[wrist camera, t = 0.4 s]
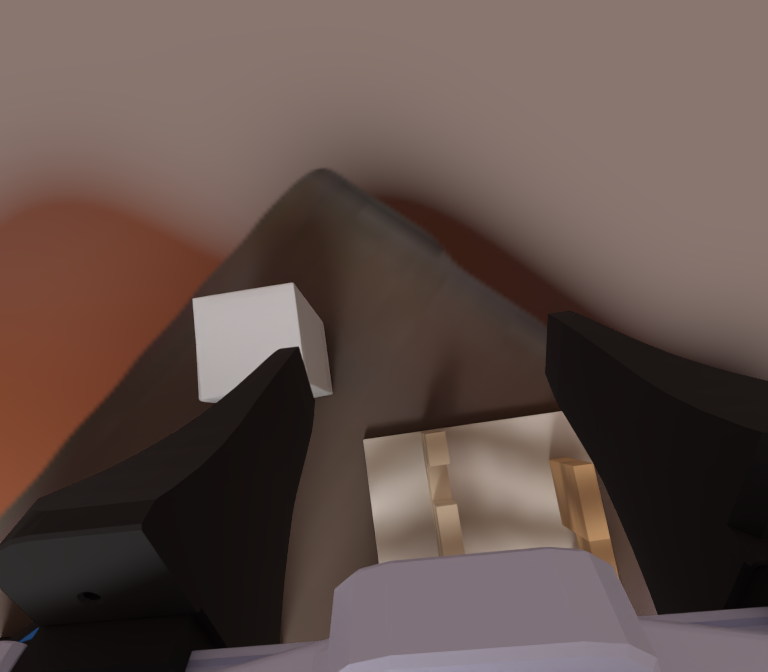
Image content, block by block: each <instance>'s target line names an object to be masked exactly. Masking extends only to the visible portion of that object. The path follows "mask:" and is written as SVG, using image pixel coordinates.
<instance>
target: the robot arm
mask: <svg viewBox="0 0 768 672" xmlns="http://www.w3.org/2000/svg"><path fill="white" fill-rule="evenodd" d="M545 374H546V377H547V379H548V382H549V384H550V387H551V389H552V392H553V394H554V396H555V399H556V401H557V403H558V405H559V407H560V408H561V410H562V412H563V414H564V415H565V417H566V419H567V420H568V422H569V424H570V425H571V427H572V429H573V430H574V432H575V434H576V435H577V437H578V439H579V440H580V442H581V444H582V445H583V447H584V449H585V450H586V452H587V454H588V455H589V457H590V459H591V460H592V462H593V464H594V466H595V467H596V469H597V471H598V473H599V475H600V477H601V479H602V481H603V483H604V485H605V487H606V489H607V492H608V494H609V496H610V498H611V500H612V503H613V505H614V507H615V509H616V511H617V514H618V516H619V518H620V521H621V523H622V525H623V528H624V530H625V532H626V535H627V537H628V539H629V542H630V544H631V546H632V549H633V551H634V554H635V556H636V559H637V561H638V564H639V566H640V569H641V572H642V574H643V577H644V579H645V582H646V584H647V587H648V589H649V592H650V594H651V597H652V600H653V602H654V605H655V608H656V611H657V613H658V615H651V616H638V617H637V615H636V613H635V611H634V609H633V607H632V605H631V603H630V601H629V599H628V597H627V595H626V592H625V590H624V588H623V586H622V584H621V582H620V580H619V578H618V576H617V574H616V572H615V570H614V568H613V566H612V565H611V564H609V563H607V562H605V561H603V560H602V559H600V558H598V557H596V556H594V555H593V554H591V553H589V552H587V551H584V550H581V549H572V548H558V547H539V548H527V549H516V550H505V551H494V552H483V553H472V554H461V555H450V556H439V557H428V558H417V559H406V560H394V561H387V562H384V563H380V564H376V565H372V566H368V567H365V568H361V569H359V570H357V571H356V572H355V573H353V574H352V575H351V576H350V577H349V578H347V579H346V580H345V581H344V582H343V583H341V584H340V585H339V586H338V587H337V588H336V589H334V599H333V609H332V618H331V628H330V638H328V639H325V640H321V641H313V642H300V643H287V644H279V638H280V623H281V612H282V600H283V589H284V578H285V570H286V561H287V552H288V543H289V536H290V528H291V521H292V514H293V508H294V503H295V498H296V493H297V489H298V485H299V481H300V477H301V473H302V469H303V465H304V461H305V457H306V454H307V449H308V445H309V441H310V437H311V433H312V426H313V418H314V406H315V400H314V396H313V393H312V389H311V386H310V383H309V379H308V376H307V372H306V369H305V365H304V362H303V359H302V355H301V352H300V348H299V346H297V347H289V348H281V349H278V350H277V351H275V352H274V353H273V354H272V355H270V356H269V357H268V358H267V359H266V360H265V361H264V362H263V363H262V364H260V365H259V366H258V367H257V368H256V369H255V370H254V371H253V372H252V373H251V374H249V375H248V376H247V377H246V378H245V379H244V380H243V381H242V382H241V383H240V384H238V385H237V386H236V387H235V388H234V389H232V390H231V391H230V392H229V393H228V394H226V395H225V396H224V397H223V398H222V399H220V400H219V401H218V402H217V403H216V404H214V405H213V406H212V407H211V408H209V409H208V410H207V411H205V412H204V413H203V414H201V415H200V416H198V417H197V418H196V419H194V420H193V421H191V422H190V423H188V424H187V425H185V426H184V427H182V428H181V429H179V430H178V431H176V432H175V433H173V434H171V435H170V436H168V437H166V438H164V439H163V440H161V441H159V442H158V443H156V444H154V445H153V446H151V447H149V448H148V449H146V450H144V451H142V452H140V453H139V454H137V455H135V456H133V457H131V458H129V459H127V460H125V461H123V462H121V463H119V464H117V465H115V466H113V467H111V468H109V469H107V470H105V471H103V472H101V473H98V474H96V475H94V476H92V477H90V478H87V479H85V480H82V481H80V482H78V483H75V484H73V485H71V486H68V487H66V488H63V489H61V490H59V491H56V492H54V493H52V494H49V495H46V496H44V497H41V498H39V499H38V500H37V501H36V502H35V503H34V504H33V505H32V507H31V508H30V509H29V510H28V511H27V513H26V514H25V515H24V516H23V517H22V519H21V520H20V521H19V522H18V523H17V525H16V526H15V527H14V528H13V529H12V530H11V532H10V533H9V534H8V535H7V536H6V538H5V539H4V540H3V541H2V542H1V543H0V588H1V590H2V591H3V592H4V593H5V594H6V595H7V596H8V597H9V598H10V599H11V600H12V601H13V602H15V603H16V604H17V605H18V606H19V607H20V608H21V609H22V610H23V611H24V612H25V613H26V614H27V615H28V616H29V617H30V618H31V619H32V620H33V621H34V622H35V623H37V624H38V625H39V626H40V627H39V629H38V630H37V632H36V633H35V635H34V636H33V638H32V640H31V641H30V643H29V644H28V645H26V644H23V643H20V642H16V641H0V672H768V381H766V380H761V379H757V378H753V377H749V376H745V375H741V374H736V373H732V372H728V371H725V370H721V369H717V368H714V367H710V366H707V365H704V364H701V363H697V362H695V361H691V360H688V359H685V358H682V357H679V356H676V355H674V354H671V353H668V352H665V351H663V350H660V349H658V348H655V347H653V346H650V345H648V344H645V343H643V342H640V341H638V340H636V339H633V338H631V337H629V336H627V335H624V334H622V333H620V332H618V331H615V330H613V329H611V328H609V327H607V326H605V325H603V324H600V323H598V322H596V321H594V320H592V319H590V318H587V317H585V316H583V315H580V314H578V313H575V312H572V311H565V312H557V313H549V314H548V324H547V346H546V367H545Z"/></svg>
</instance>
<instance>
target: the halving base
mask: <svg viewBox="0 0 768 672" xmlns="http://www.w3.org/2000/svg"><path fill="white" fill-rule="evenodd" d="M363 442H364V450H365V458H366V466H367V474H368V481H369V489H370V497H371V505H372V513H373V521H374V529H375V537H376V545H377V552H378V560H379V564H380V563H384V562H387V561H394V560H406V559H417V558H428V557H439V556H450V555H461V554H472V553H483V552H494V551H505V550H516V549H527V548H539V547H558V548H572V549H579V546H578V541H577V536H576V533H575V532H573V531H571V530H570V529H568V528H567V527H565V526H563V525H562V522H561V517H560V512H559V507H558V502H557V497H556V492H555V487H554V483H553V478H552V473H551V468H550V463H549V460H550V459H557V458H564V457H568V458H572V459H576V460H581V461H585V462H589V463H593V462H592V460H591V459H590V457H589V455H588V454H587V452H586V450H585V449H584V447H583V445H582V444H581V442H580V440H579V439H578V437H577V435H576V434H575V432H574V430H573V429H572V427H571V425H570V424H569V422H568V420H567V419H566V417H565V415H564V414H563V412H562V411H558V412H551V413H544V414H537V415H530V416H523V417H516V418H509V419H502V420H495V421H488V422H481V423H474V424H467V425H460V426H453V427H446V428H439V429H432V430H425V431H418V432H411V433H404V434H397V435H390V436H383V437H376V438H369V439H364V440H363Z"/></svg>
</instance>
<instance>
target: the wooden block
mask: <svg viewBox="0 0 768 672" xmlns="http://www.w3.org/2000/svg"><path fill="white" fill-rule="evenodd" d="M549 463H550V468H551V473H552V478H553V483H554V487H555V492H556V497H557V502H558V507H559V512H560V517H561V522H562V525H563V526H565V527H567V528H568V529H570V530H571V531H573V532H575V533H576V536H577V541H578V546H579V549H581V550H584V551H587V552H589V553H591V554H593V555H594V556H596V557H598V558H600V559H602V560H603V561H605V562H607V563H609V564H611V565H612V566H613V568H614V570H615V572H616V574H617V576H618V571H617V567H616V563H615V558H614V554H613V549H612V545H611V540H610V536H609V531H608V527H607V522H606V518H605V513H604V509H603V504H602V500H601V496H600V491H599V487H598V482H597V478H596V473H595V469H594V464H593V463H589V462H585V461H581V460H576V459H572V458H568V457H564V458H557V459H550V460H549ZM618 578H619V576H618Z"/></svg>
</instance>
